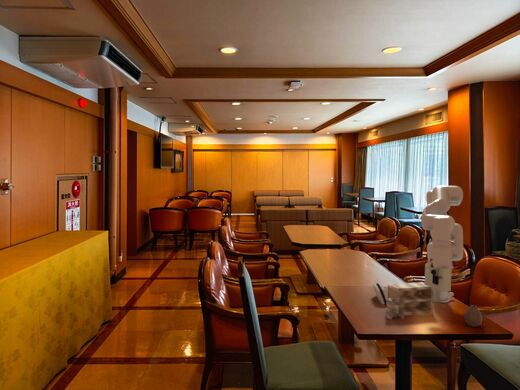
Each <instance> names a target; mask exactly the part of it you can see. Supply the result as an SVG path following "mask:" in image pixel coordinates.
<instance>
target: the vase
mask: <svg viewBox="0 0 520 390" xmlns="http://www.w3.org/2000/svg"><path fill="white" fill-rule="evenodd" d="M463 316H464V321H465V323H466V325H468V326H470V327H474V328H476V327H480V326H481V324H482V321H483V315H482V312H481V311H480V310H479V308H478V306H477V305H475V304H470V306H469V307H468V308H466V310H465V311H464V315H463Z"/></svg>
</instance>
